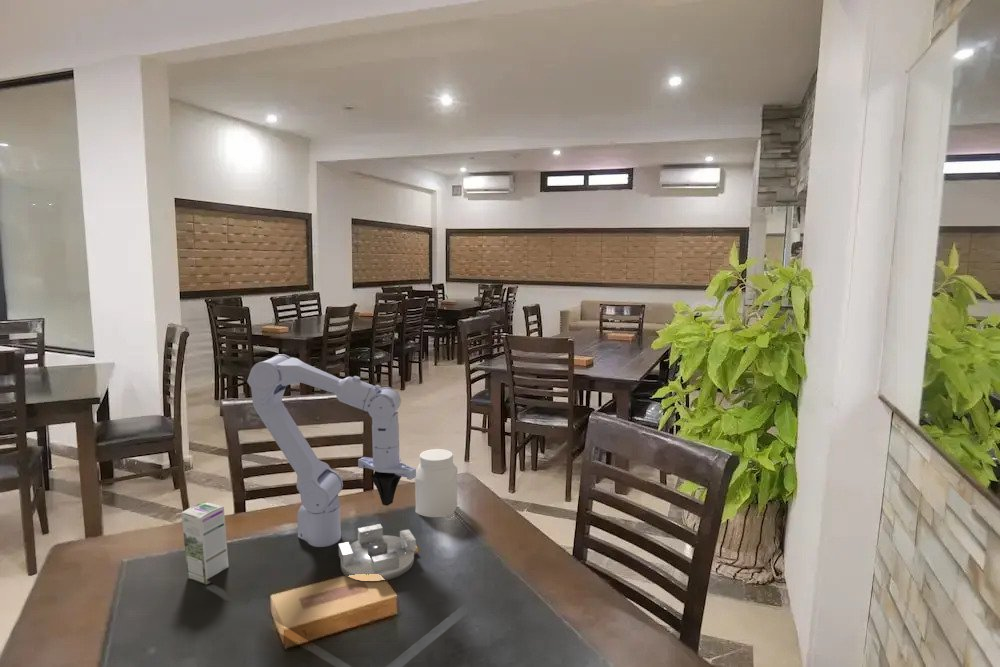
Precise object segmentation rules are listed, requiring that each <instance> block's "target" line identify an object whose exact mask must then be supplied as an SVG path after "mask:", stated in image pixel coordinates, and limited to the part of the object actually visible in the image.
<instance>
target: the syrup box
mask: <svg viewBox="0 0 1000 667" xmlns="http://www.w3.org/2000/svg"><path fill="white" fill-rule="evenodd" d="M225 516H226V515H225V507H224V506H222V505H218V504H215V503H212V502H211V503H210V502H208V501H203V502H200V503H197V504H195V505H192V506H190V507H188V508H187V509H185V510H184V511H181V522H182V532H183V540H184V541H183V544H184V553H185V565H186V566H185V567H186V576H187V577H186V578H187V579H189V580H192V581H195V582H197V583H200V584H204V585H209V584H211V583H212V581H210V579H211V578H213V577H214V576H215V575H217V574H219V573H220V572H222V571H225V570H226V569H228V568H230V566H229V565H230V564H229V555H228V554H229V553H228V542H227V529H226V517H225Z"/></svg>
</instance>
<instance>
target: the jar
mask: <svg viewBox="0 0 1000 667" xmlns="http://www.w3.org/2000/svg"><path fill="white" fill-rule="evenodd" d="M453 458H454V457H453V452H452V451H450V450H448V449H442V448H431V449H427V450H424V451H422V452H420V454H419V464H418V465H417V467H416V477H415V478H414V487H415V488H414V489H415V490H414V491H415V492H414V493H415V496H414V497H415V499H414V500H415V513H416V514H418V515H419V516H422V517H426V518H443V517H444V518H447V519H450V518H451V517H453V516H454V517H455V510H456V509H457V508H458V506H457V505H458V467H457V465H455V463H454V459H453ZM456 507H457V508H456ZM455 508H456V509H455ZM454 517H453V518H454ZM451 519H452V518H451Z"/></svg>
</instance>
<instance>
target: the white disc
mask: <svg viewBox="0 0 1000 667" xmlns="http://www.w3.org/2000/svg"><path fill="white" fill-rule="evenodd" d="M383 529H384V528H383V526H382V525H381V523H377V524H373V525H368V526H363V527H358V528H357V540H356V541H353V542H352V543H350V542H349V541H346V542H340V543H338V557H339V559H340V570H341V572H342V573H343V575H344V576H346V577H347V576H349V575H355V574H366V575H367V574H368V575H369V574H379V575H381V576H382V577H383V578H384V579H385V580H386V581H389V580H392V579H396V578H398V577H400V576H402V575H403V574H405V573H407V572H408V571H409V570H410V569H412V567H413V565H414V563H415V553H418V552H419V550H418V549H419V548H418V546H417V541H416V540H417V539H416V538H415V536H414V535H413V533H412V532H411V530H410V529H409V528H408V529H403V530H400V531H399V536H395V535H386V534H385V535H384V533H383V532H384V531H383Z"/></svg>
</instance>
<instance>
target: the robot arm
mask: <svg viewBox="0 0 1000 667" xmlns="http://www.w3.org/2000/svg"><path fill="white" fill-rule="evenodd" d="M246 383H247V384H248V385H249V387H250V390H251V399H252V400H251V401H252V406H253V408H254V410H255V412H256V413H257V415H258V416H259V418H260V420H261V421H262V422H263V424H264V426H265V428H266V429H267V430H268V432H269V434H270V435H271V437H272V438H273V440H274V442H275V443H276V444H277V446H278V447H279V449H280V451H281V452H282V453H283V455H284V457H285V458H286V460H287V461H288V463H289V465H290V467H291V468H292V470H293V471H294V472H295V474H296V476H297V477H296V489H297V491H298V493H299V495H300V502H301V505H300V507H299V508H298V511H297V517H296V518H297V519H296V520H297V521H296V522H297V537H298V539H301V540H303V541H305V542H306V543H307V544H308V545H310V546H312V547H314V548H315V547H316V548H323V547H325V548H326V547H330V546H333V545H335V544H336V543H338V542H339V541H340V540H341V538H342V535H341V534H342V530H341V525H342V524H341V505H340V503H341V502H340V499H339V494H340V493H341V491H342V490H343V487H344V484H343V478H342V477H341V475H340V474H338V472H337V471H334V470H333V468H331V467H330V465H329V464H328V463H327V462H324V461H321V460H320V459H319V458H318V456H317V455H316V453H315V451H314V450H313V449H312V447H311V446H310V444H309V442H308V440H307V439H306V438H305V436H304V434H303V433H302V431H301V430H300V429H299V427H298V425H297V423H296V422H295V421H294V419H293V417H292V416H291V414H290V412H289V411H288V409H287V408H286V406H285V405H284V402H283V397H284V394H285V392H286V389H287V388H286V387H288V386H289V385H293V384H299V383H301V384H304V385H306V386H307V385H308V386H310V387H313V388H316V389H320V390H323V391H327V392H330V393H332V394H335V396H336V399H337V400H338V402H340V403H342V404H346V405H349V406H351V407H353V408H356V409H359V410H361V411H364V412H367V413H368V415H369V417H370V418H371V423H372V424H371V432H372V433H371V434H372V435H371V436H372V437H371V438H372V439H371V440H372V442H371V444H372V457H368V456H367V457H366V456H362V457H361V458H359V459H358V460H357V461H358V462H357V465H358V466H357V467H358V468H359V469H363V468H365V469H369V470H373V471H374V472H373V474H371V475H370V480H371V482H373V484H374V485H375V487H376V489H377V491H378V495H379V498H380V501H381V504H382V506H386V507H388V506H390V505H392V504H393V502H394V497H395V495H396V494H395V493H396V490H397V487H398V484H399V482H400V481H401V478H402V477H403V478H406V479H407V480H410V481H411V480H414V479H415V477H416V470H417V467H416V468H415V467H413V466H410V465H407V464H405V463H404V462H402V460H401V458H400V426H399V425H400V424H399V411H398V410H399V408H400V406H401V404H402V400H401V399H402V398H401V396H400V393H399V392H398V391H396V389H394V388H392V387H391V386H386V387H385V386H383V387H382V386H381V385H379V384H375V385H373V384H370V383H367V382H365V381H362V380H361V377H360V376H357V375H354V376H347V377H345V378H340V377H337V376H336V375H334V374H331V373H329V372H327V371H324V370H321V369H319V368H317V367H314V366H312V365H310V364H309V363H306V362H304V361H302V360H301V359H299V358H297V357H290V356H289V355H287V354H284V353H282V354H280V353H279V354H276V355H274V356H272V357H270V358H268V359H266V360H263V361H259V362H257V363H255V364H254V365H253V366H252V367H251V369H250V372H249V375H248V377H247V380H246Z"/></svg>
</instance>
